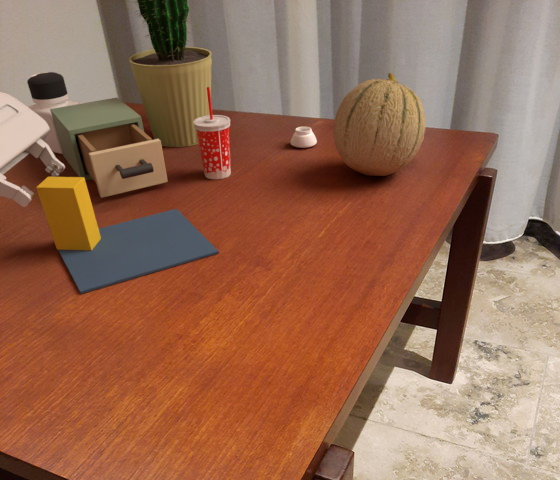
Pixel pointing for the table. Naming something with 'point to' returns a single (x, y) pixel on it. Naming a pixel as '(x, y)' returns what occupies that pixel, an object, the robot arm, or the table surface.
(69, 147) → the cabinet
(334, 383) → the table surface
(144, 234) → the mat
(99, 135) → the drawer
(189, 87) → the potted cactus
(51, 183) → the sponge
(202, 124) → the beverage cup
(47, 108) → the container
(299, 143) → the white jar
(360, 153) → the cantaloupe
